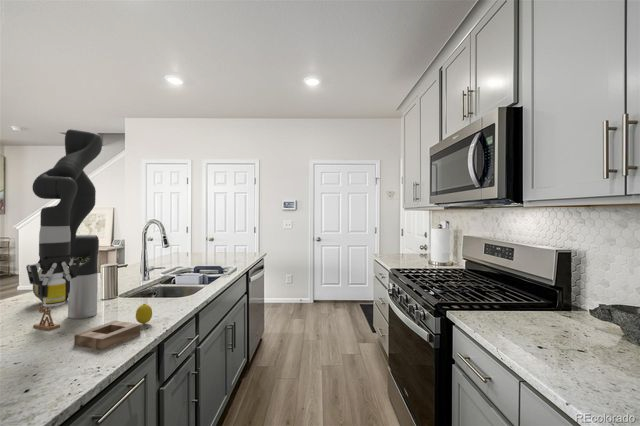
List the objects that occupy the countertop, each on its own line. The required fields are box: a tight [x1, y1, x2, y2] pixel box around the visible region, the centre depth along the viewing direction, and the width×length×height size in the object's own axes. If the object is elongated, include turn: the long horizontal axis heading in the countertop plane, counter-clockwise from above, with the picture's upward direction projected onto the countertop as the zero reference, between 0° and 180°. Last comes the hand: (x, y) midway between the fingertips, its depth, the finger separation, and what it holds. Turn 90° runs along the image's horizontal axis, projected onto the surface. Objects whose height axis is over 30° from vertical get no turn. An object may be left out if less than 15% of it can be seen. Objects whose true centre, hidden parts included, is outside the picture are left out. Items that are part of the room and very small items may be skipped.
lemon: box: [135, 303, 153, 326], centre depth 120 cm, size 6×6×8 cm
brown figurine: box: [32, 303, 61, 332], centre depth 116 cm, size 9×4×12 cm, turn 71°
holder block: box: [73, 320, 142, 352], centre depth 106 cm, size 12×14×4 cm
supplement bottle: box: [42, 272, 66, 307], centre depth 98 cm, size 5×5×10 cm
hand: (54, 294), depth 98 cm, fingers closed on supplement bottle, 5 cm apart
